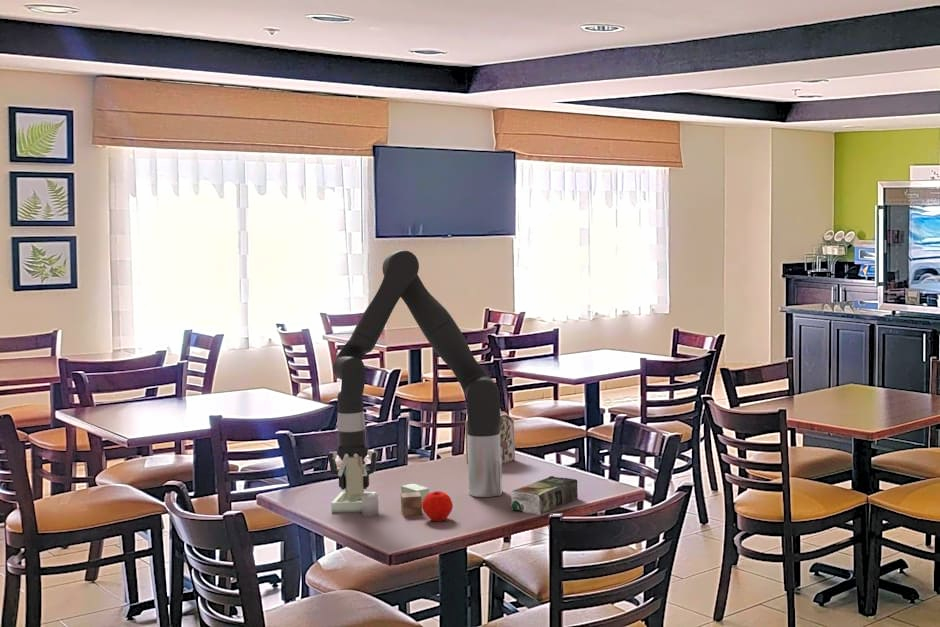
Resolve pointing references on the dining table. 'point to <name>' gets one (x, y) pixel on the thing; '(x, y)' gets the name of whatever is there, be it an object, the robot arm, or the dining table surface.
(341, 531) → the dining table surface
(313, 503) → the dining table surface
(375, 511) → the grey cylinder
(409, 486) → the sage block
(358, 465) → the skincare box
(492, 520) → the dining table surface
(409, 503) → the walnut block
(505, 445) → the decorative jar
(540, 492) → the juice carton
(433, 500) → the apple
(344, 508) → the tray
